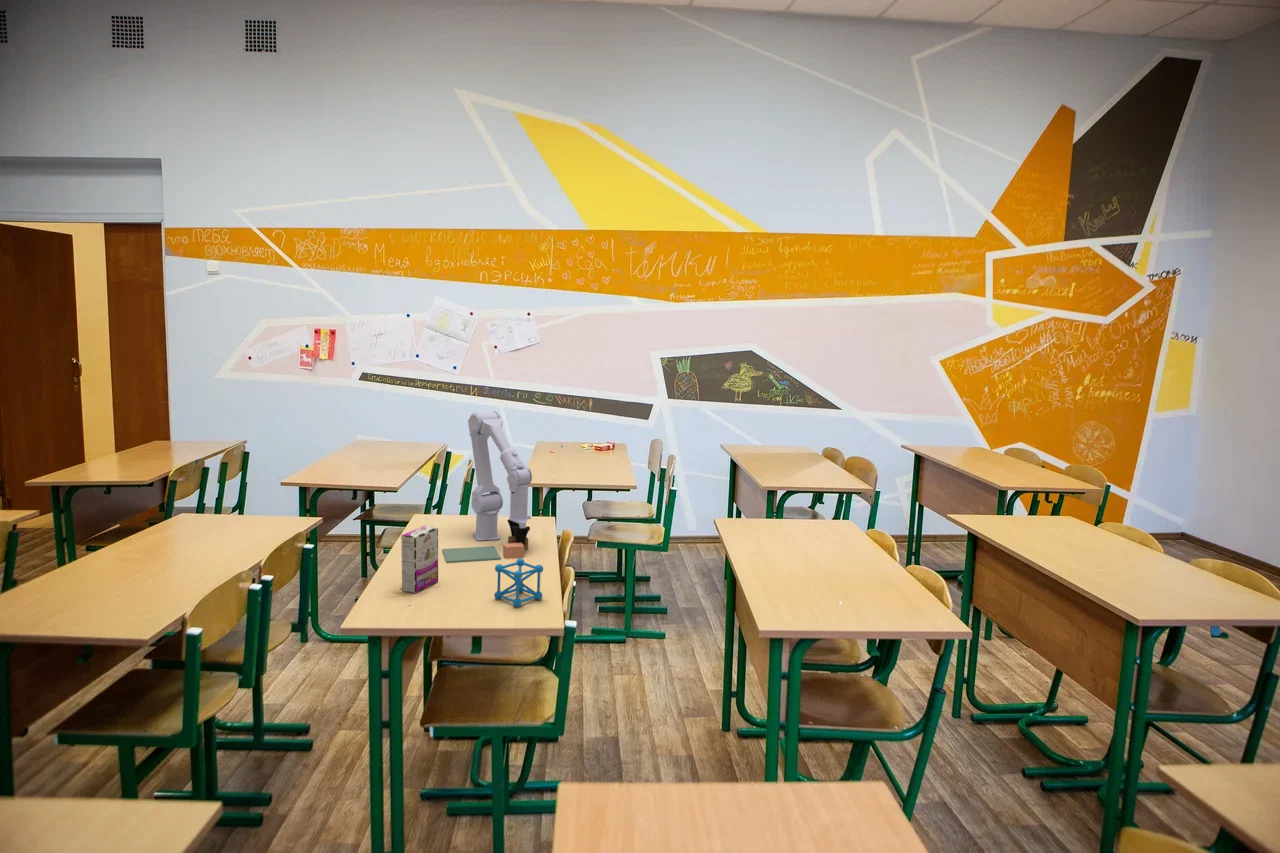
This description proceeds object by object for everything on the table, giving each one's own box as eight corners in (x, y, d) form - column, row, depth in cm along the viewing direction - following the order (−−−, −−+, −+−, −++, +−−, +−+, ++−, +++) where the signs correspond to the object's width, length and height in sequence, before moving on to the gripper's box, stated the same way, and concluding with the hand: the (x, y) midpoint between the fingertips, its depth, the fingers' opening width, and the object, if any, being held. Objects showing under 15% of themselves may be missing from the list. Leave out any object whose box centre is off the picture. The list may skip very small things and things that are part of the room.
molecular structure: (519, 590, 217) (520, 556, 216) (544, 599, 211) (545, 564, 210) (492, 599, 210) (493, 564, 208) (516, 609, 204) (517, 572, 202)
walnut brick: (507, 547, 257) (508, 536, 257) (525, 546, 259) (525, 535, 259) (510, 551, 253) (510, 539, 253) (527, 550, 256) (528, 538, 255)
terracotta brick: (503, 555, 249) (503, 543, 248) (521, 554, 251) (521, 542, 250) (505, 559, 245) (505, 547, 244) (523, 558, 247) (524, 546, 247)
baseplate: (442, 550, 250) (442, 549, 250) (494, 547, 256) (494, 545, 256) (446, 563, 238) (446, 561, 238) (501, 559, 244) (501, 557, 244)
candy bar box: (424, 579, 223) (424, 524, 220) (438, 581, 221) (439, 527, 219) (400, 591, 212) (400, 534, 210) (415, 594, 211) (416, 536, 208)
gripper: (535, 508, 249) (534, 549, 251) (526, 498, 262) (525, 536, 264) (514, 509, 246) (513, 550, 248) (505, 499, 260) (505, 538, 262)
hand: (518, 543), depth 256 cm, fingers open, 7 cm apart
